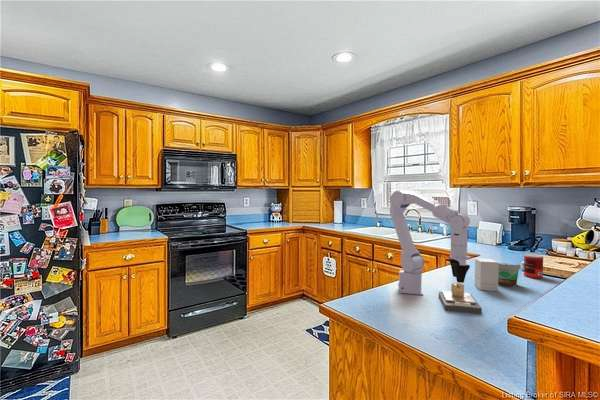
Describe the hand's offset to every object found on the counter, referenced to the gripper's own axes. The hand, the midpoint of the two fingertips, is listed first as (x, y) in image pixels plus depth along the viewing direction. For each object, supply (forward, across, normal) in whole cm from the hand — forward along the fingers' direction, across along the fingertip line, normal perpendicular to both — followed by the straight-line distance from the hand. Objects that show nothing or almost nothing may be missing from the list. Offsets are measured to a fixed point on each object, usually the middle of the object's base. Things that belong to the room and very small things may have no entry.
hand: (458, 279), depth 120 cm
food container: (+10, +30, -26) cm, 41 cm away
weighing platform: (+7, 0, 0) cm, 7 cm away
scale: (+9, -2, 0) cm, 9 cm away
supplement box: (+10, +24, -16) cm, 30 cm away
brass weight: (+6, 0, 0) cm, 7 cm away
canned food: (+10, +50, -44) cm, 67 cm away
